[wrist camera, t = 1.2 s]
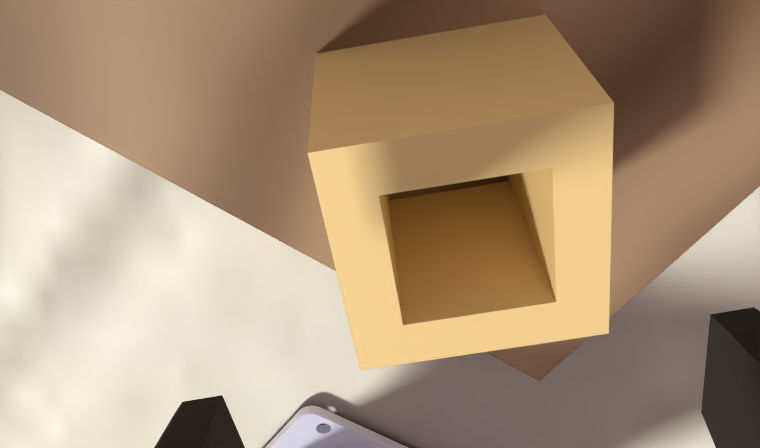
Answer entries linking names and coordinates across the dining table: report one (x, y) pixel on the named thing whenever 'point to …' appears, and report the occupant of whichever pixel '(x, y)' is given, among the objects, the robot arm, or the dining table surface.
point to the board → (381, 24)
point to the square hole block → (465, 190)
